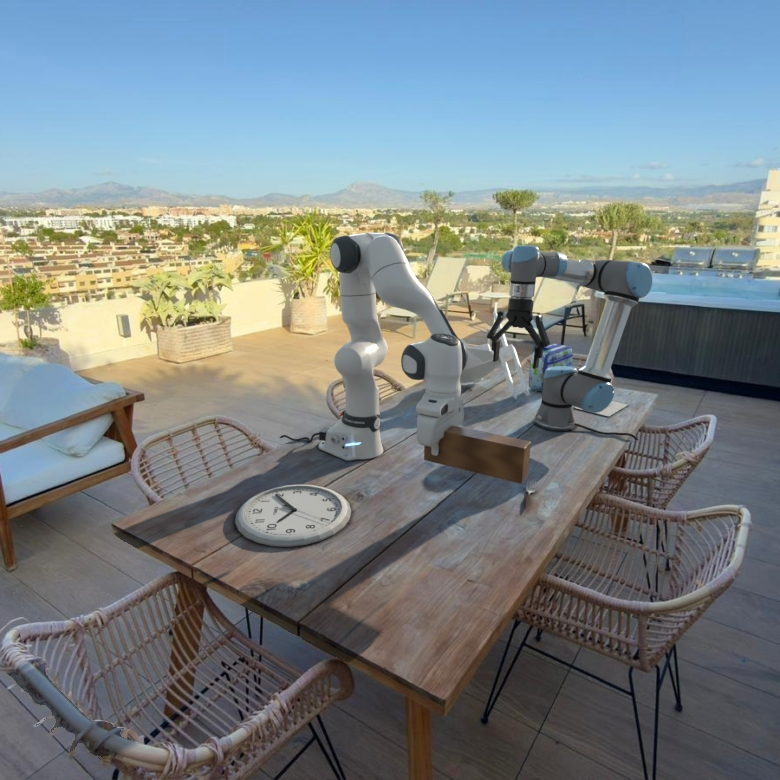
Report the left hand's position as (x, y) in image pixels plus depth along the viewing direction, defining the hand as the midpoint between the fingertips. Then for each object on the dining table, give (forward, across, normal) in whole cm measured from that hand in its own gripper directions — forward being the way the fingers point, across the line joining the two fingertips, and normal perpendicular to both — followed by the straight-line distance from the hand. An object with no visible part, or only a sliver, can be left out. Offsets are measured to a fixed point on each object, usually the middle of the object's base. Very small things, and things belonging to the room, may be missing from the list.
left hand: (441, 450), depth 135 cm
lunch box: (+18, -132, -6) cm, 133 cm away
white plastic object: (+18, -107, -31) cm, 113 cm away
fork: (+18, -21, +18) cm, 33 cm away
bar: (+3, 0, +9) cm, 10 cm away
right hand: (-13, -46, +4) cm, 48 cm away
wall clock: (+18, +22, -32) cm, 42 cm away
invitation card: (+19, -117, +21) cm, 121 cm away
